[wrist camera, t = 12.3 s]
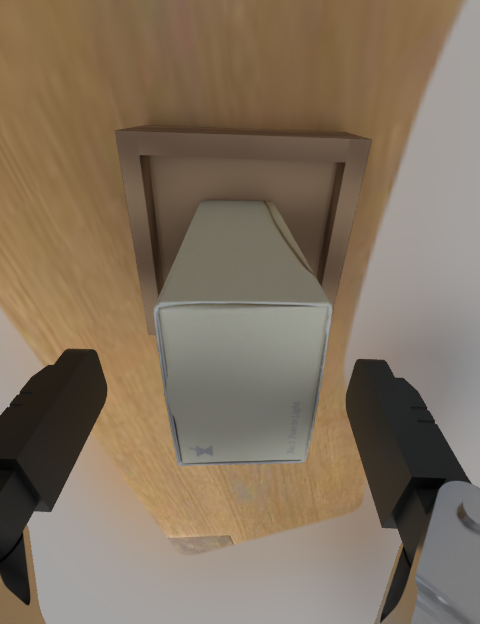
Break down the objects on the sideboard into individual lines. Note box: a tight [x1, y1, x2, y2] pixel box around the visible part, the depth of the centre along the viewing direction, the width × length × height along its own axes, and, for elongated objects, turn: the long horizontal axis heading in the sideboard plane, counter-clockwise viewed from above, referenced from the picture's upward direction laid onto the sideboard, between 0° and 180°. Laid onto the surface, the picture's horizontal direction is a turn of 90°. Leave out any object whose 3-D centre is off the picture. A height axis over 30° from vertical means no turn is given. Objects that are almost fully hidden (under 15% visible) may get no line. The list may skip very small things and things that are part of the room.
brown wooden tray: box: [115, 125, 372, 335], centre depth 20 cm, size 12×12×6 cm
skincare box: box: [154, 200, 332, 466], centre depth 14 cm, size 6×4×12 cm
